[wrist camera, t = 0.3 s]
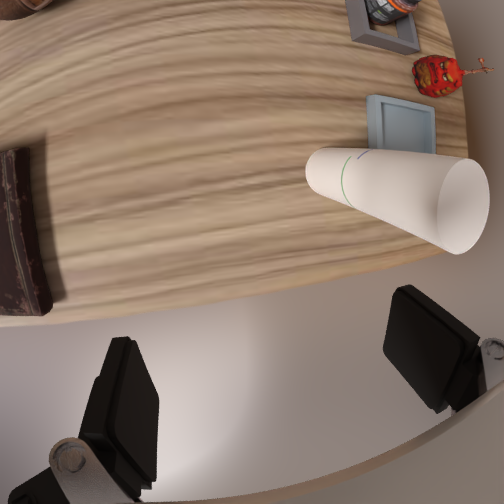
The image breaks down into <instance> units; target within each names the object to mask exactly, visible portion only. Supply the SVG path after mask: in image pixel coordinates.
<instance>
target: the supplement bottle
mask: <svg viewBox="0 0 504 504" xmlns="http://www.w3.org/2000/svg"><path fill="white" fill-rule="evenodd" d="M419 1H421V0H364V2H365V7H366V12H367V17H368V19H369V20H370V21H371V22H373V23H375V24H378V25H386V24H389V23H390V22H392V21H394V20H396V19H398V18H400V17H402V16H404V15H407V14H409V13H411V12H413V11H414V10H416V8H417V7H418V2H419Z"/></svg>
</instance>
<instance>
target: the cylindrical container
mask: <svg viewBox="0 0 504 504" xmlns="http://www.w3.org/2000/svg"><path fill="white" fill-rule="evenodd" d="M306 179H307V182H308V184H309V186H310V187H311V188H312V189H313V190H314V191H315V192H316V193H318V194H320V195H323V196H325V197H328V198H330V199H333V200H335V201H338V202H340V203H343V204H345V205H348V206H350V207H353V208H355V209H358V210H360V211H362V212H365V213H367V214H369V215H372V216H374V217H376V218H379V219H381V220H383V221H385V222H388V223H390V224H392V225H394V226H397V227H399V228H401V229H403V230H405V231H407V232H409V233H412V234H414V235H416V236H418V237H420V238H422V239H424V240H426V241H428V242H430V243H432V244H434V245H436V246H438V247H440V248H442V249H444V250H446V251H448V252H450V253H453V254H461V253H464V252H466V251H467V250H469V249H470V248H471V247H472V246H473V245H474V244H475V243H476V241H477V240H478V239H479V237H480V235H481V233H482V231H483V229H484V226H485V224H486V220H487V217H488V211H489V202H490V195H489V186H488V182H487V178H486V175H485V173H484V171H483V169H482V168H481V166H480V165H479V164H478V163H477V162H475V161H474V160H471V159H467V158H460V157H453V156H445V155H437V154H428V153H419V152H409V151H397V150H384V149H365V148H331V147H327V148H321V149H319V150H317V151H315V152H314V153H313V154H312V155H311V156H310V158H309V160H308V162H307V165H306Z"/></svg>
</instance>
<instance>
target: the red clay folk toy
mask: <svg viewBox="0 0 504 504" xmlns="http://www.w3.org/2000/svg"><path fill="white" fill-rule="evenodd" d="M478 60H479V62H480V63H481V65H482V69H478V70H471V71H467V70H461V69H460V68H459V66H458V64H457V61H456V59H453V58H448V57H445V56H439V55H430V56H427V57H422V58H420V59H419V60H417V61H416V62H414V67H413V68H412V72H413V75H414V76H415V79H414V81H415V84H416V86H417V88H418V90H419V92H420V93H421V94H424V95H427V96H430V97H434V98H437V97H440V96H446V95H448V94H450V93H452V92H454V91H455V90H456V89H457V88H459V87H460V86H462V76H463V75H466V74H469V73H472V74H475V73H476V72H486V73H487V71H493V70H494V69H489V68H485V67H484V64H483V62H484V59H483V58H481V59H480V58H479V59H478Z"/></svg>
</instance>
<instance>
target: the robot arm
mask: <svg viewBox="0 0 504 504" xmlns="http://www.w3.org/2000/svg"><path fill="white" fill-rule="evenodd" d="M479 339H480V337H479V336H478V335H477V334H475V333H474V332H473V331H472V330H471V329H469V328H468V327H467V326H465V325H464V324H463V323H462V322H460V321H459V320H458V319H456V318H455V317H454V316H453V315H451V314H450V313H449V312H447V311H446V310H445V309H443V308H442V307H441V306H440V305H438V304H437V303H436V302H434V301H433V300H432V299H430V298H429V297H428V296H426V295H425V294H424V293H422V292H421V291H419V290H418V289H416V288H415V287H414V286H412V285H405V286H402V287H398V288H397V289H396V291H395V292H394V294H393V296H392V302H391V308H390V314H389V320H388V325H387V330H386V335H385V340H384V344H383V352H384V354H385V356H386V357H387V358H388V359H389V361H390V362H391V363H392V364H393V365H394V366H395V368H396V369H397V370H398V371H399V372H400V374H401V375H402V376H403V377H404V378H405V380H406V381H407V382H408V383H409V384H410V386H411V387H412V388H413V389H414V390H415V392H416V393H417V394H418V395H419V396H420V398H421V399H422V400H423V401H424V403H425V404H426V405H427V406H428V407H429V408H430V409H433V410H434V411H435V412H436V414H438V413H440V412H442V411H443V410H445V409H446V408H447V407H448V405H450V406H451V407H452V408H451V417H449V418H448V419H446V420H445V421H443V422H441V423H440V424H438V425H436V426H435V427H433V428H431V429H430V430H428V431H426V432H424V433H422V434H421V435H419V436H417V437H415V438H413V439H411V440H409V441H407V442H406V443H404V444H402V445H400V446H398V447H396V448H393V449H391V450H389V451H387V452H385V453H383V454H380V455H378V456H376V457H374V458H371V459H369V460H366V461H364V462H362V463H359V464H356V465H354V466H351V467H349V468H346V469H343V470H340V471H337V472H335V473H332V474H329V475H325V476H322V477H319V478H316V479H313V480H309V481H305V482H302V483H298V484H294V485H290V486H287V487H283V488H278V489H273V490H268V491H263V492H259V493H252V494H247V495H240V496H233V497H226V498H217V499H207V500H196V501H178V502H146V503H145V502H143V501H142V500H141V499H140V498H139V497H140V496H141V489H149V490H151V489H152V482H155V481H156V478H157V435H158V416H159V397H158V393H157V391H156V389H155V387H154V384H153V382H152V380H151V377H150V375H149V373H148V370H147V368H146V365H145V363H144V360H143V358H142V355H141V353H140V350H139V347H138V345H137V342H136V341H135V340H131V339H130V338H129V337H128V336H127V337H116V338H112V340H111V343H110V346H109V349H108V351H107V354H106V357H105V360H104V363H103V366H102V369H101V372H100V375H99V376H98V377H96V379H95V381H94V384H93V387H92V390H91V393H90V396H89V400H88V403H87V407H86V410H85V414H84V417H83V421H82V424H81V428H80V432H79V436H78V438H73V437H72V438H65V439H62V440H60V441H59V442H57V443H56V444H55V445H54V446H53V448H52V449H51V451H50V454H49V464H50V467H49V468H47V469H46V470H44V471H42V472H41V473H39V474H38V475H36V476H34V477H33V478H31V479H29V480H28V481H26V482H25V483H23V484H21V485H20V486H18V487H16V488H15V489H14V490H12V492H11V493H10V495H9V498H8V504H504V341H503V340H500V339H497V338H488V339H485V340H484V341H483V342H482V344H481V346H480V347H479V346H478V345H477V344H478V341H479Z"/></svg>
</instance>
